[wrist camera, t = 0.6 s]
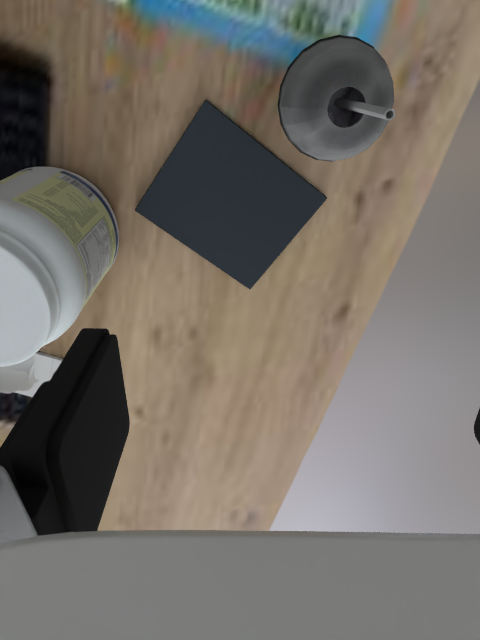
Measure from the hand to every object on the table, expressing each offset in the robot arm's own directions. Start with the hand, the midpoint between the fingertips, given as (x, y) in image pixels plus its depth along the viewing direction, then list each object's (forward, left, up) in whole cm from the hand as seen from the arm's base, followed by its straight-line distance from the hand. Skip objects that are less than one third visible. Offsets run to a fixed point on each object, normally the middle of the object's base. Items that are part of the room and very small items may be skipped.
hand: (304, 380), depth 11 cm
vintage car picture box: (-4, -36, -35) cm, 50 cm away
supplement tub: (-11, -18, -35) cm, 41 cm away
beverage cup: (+1, +6, -35) cm, 35 cm away
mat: (+1, -6, -35) cm, 35 cm away
